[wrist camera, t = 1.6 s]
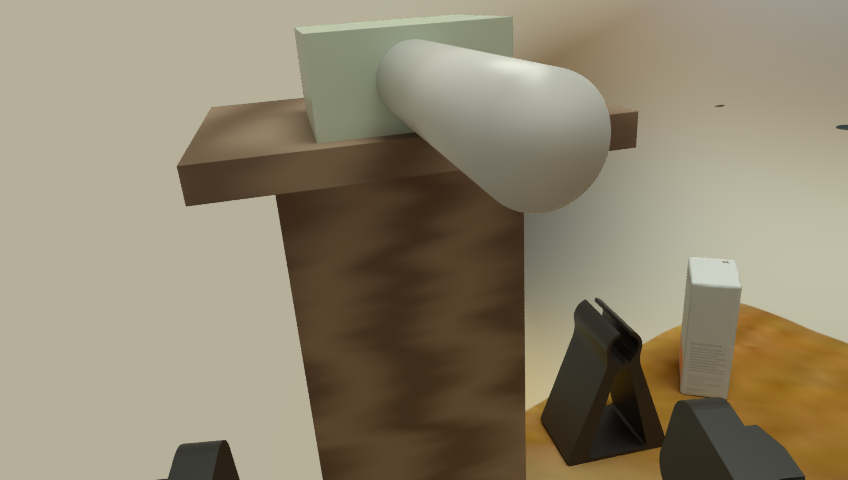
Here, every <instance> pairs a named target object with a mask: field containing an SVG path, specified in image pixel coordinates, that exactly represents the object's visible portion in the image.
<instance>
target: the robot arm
mask: <svg viewBox="0 0 848 480" xmlns="http://www.w3.org/2000/svg"><path fill="white" fill-rule="evenodd" d="M660 470H661V475H662V479H663V480H805V476H804V474H803V473H802V471H801V470H800V469H799V467H798V466H797V464H796V463H795V462H794V460H793V459H792V457H791V456H790V454H789V453H788V452H787V450H786V449H785V448H784V447H783V446H782V445H781V444H779V443H778V442H777V441H776V440H774V439H773V438H772V437H771V436H770V435H768V434H767V433H766V432H765V431H764V430H762V429H761V428H760V427H759V426H757V425H751V426H744V425H743V423H742V422H741V420H740V419H739V417H738V416H737V414H736V413H735V411H734V409H733V408H732V407H731V405H730V404H729V403H728V402H727V401H726V400H725V399H723V398H721V397H714V398H703V399H692V400H681V401H678V402H677V403H676V404H675V406H674V409H673V412H672V415H671V419H670V422H669V425H668V428H667V432H666V435H665V438H664V441H663V444H662V448H661V451H660ZM160 480H239V476H238V473H237V470H236V466H235V463H234V460H233V457H232V454H231V451H230V447H229V444H228V443H227V441H226V440H222V441H209V442H199V443H187V444H181V445H180V446H179V447H178V449H177V451H176V453H175V456H174V460H173V463H172V466H171V470H170V473H169V477H168V479H160Z"/></svg>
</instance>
